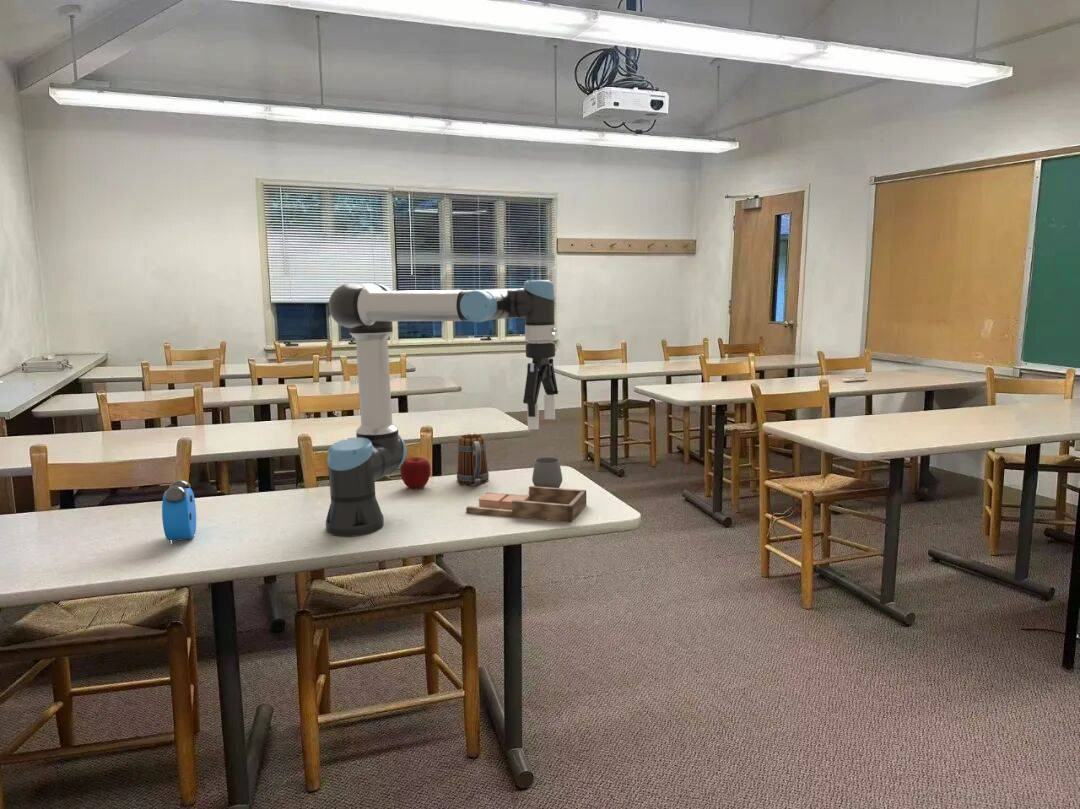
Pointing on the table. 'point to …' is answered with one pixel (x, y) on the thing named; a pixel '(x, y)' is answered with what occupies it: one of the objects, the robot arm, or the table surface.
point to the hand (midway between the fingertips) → (541, 423)
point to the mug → (472, 460)
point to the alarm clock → (179, 511)
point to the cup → (547, 472)
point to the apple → (415, 472)
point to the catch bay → (542, 504)
